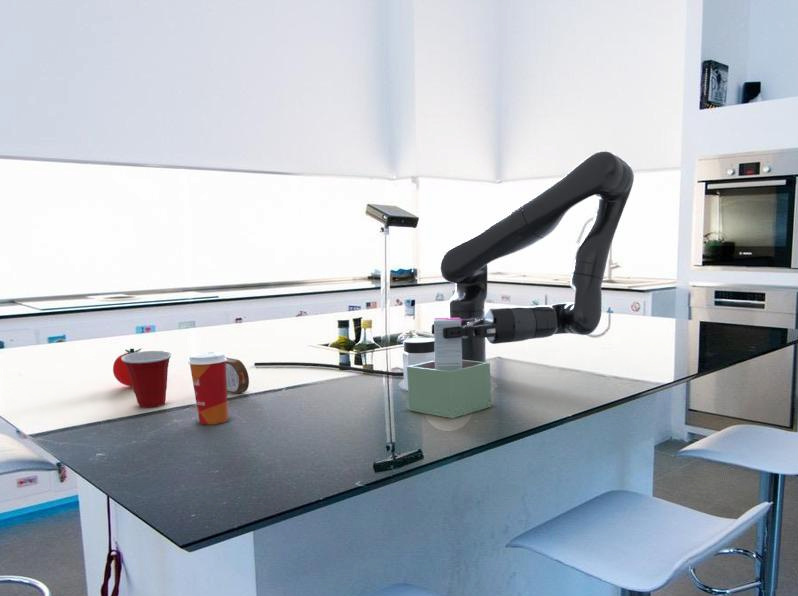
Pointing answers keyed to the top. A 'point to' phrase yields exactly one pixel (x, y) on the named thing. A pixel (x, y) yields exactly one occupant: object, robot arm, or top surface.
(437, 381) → the mint green storage bin
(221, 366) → the paper cup
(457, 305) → the robot arm
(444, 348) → the supplement box
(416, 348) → the jar
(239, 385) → the tin
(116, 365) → the tomato
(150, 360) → the plastic cup
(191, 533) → the top surface
